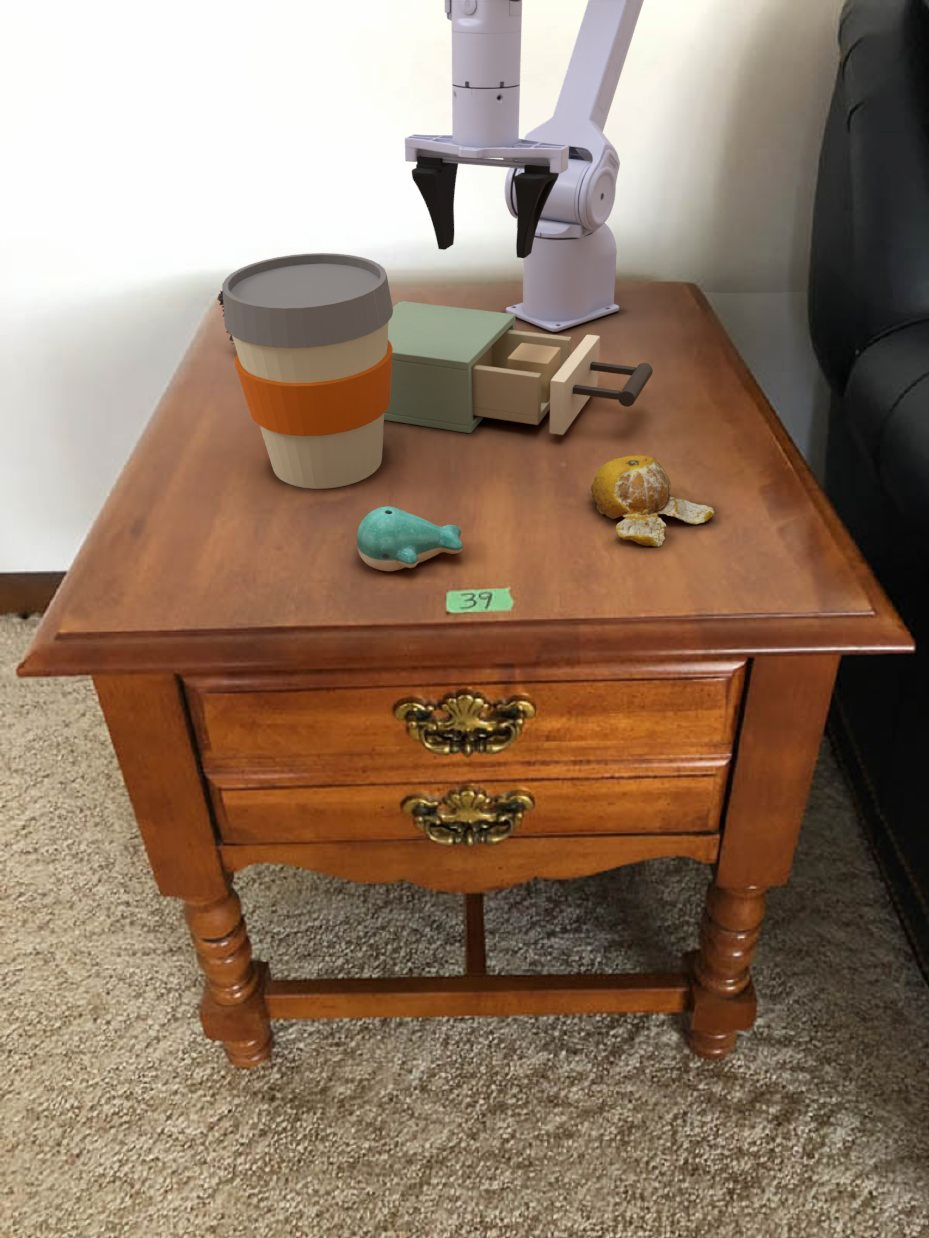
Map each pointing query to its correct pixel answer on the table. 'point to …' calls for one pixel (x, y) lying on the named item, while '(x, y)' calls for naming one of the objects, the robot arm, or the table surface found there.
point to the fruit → (641, 499)
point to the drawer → (569, 388)
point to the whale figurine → (403, 539)
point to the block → (537, 363)
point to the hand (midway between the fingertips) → (484, 251)
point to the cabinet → (438, 362)
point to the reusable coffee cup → (314, 362)
